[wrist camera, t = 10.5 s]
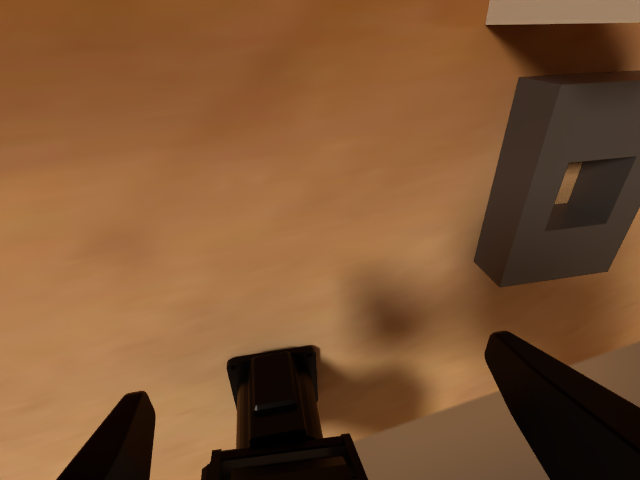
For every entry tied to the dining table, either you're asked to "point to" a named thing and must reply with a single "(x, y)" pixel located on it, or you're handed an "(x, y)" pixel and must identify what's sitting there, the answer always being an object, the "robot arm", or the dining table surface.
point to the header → (548, 172)
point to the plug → (562, 11)
